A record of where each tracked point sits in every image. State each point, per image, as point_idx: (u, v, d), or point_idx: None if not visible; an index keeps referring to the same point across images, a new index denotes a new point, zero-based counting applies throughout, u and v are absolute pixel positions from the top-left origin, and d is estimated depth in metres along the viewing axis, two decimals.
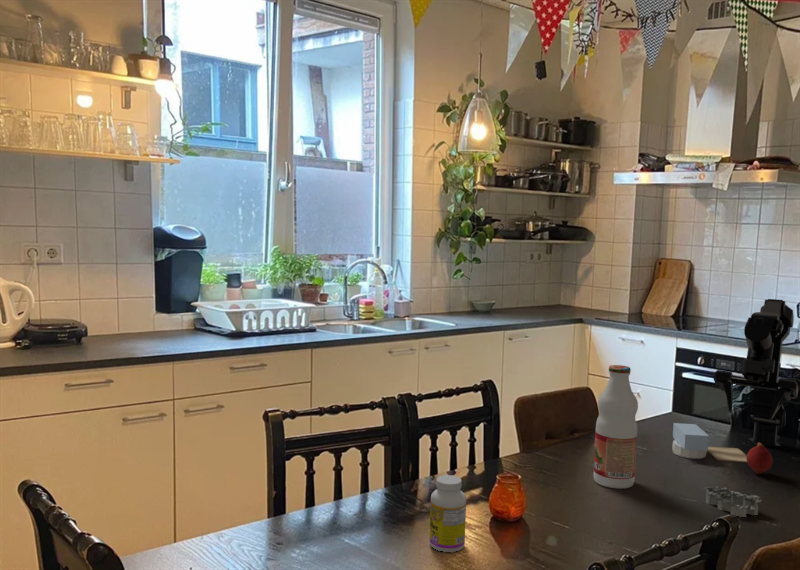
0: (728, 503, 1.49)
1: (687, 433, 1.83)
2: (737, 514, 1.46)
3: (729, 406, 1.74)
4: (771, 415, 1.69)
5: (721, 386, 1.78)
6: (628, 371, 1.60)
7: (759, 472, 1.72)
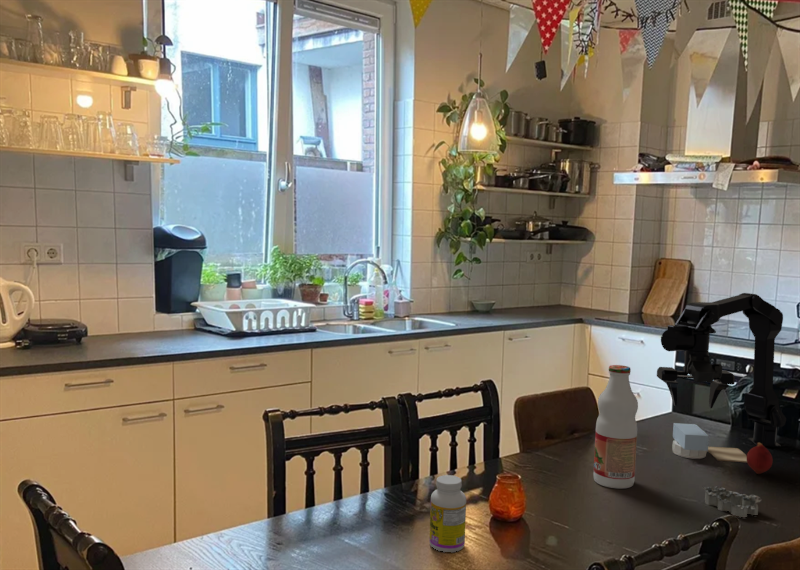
0: (728, 503, 1.48)
1: (687, 433, 1.83)
2: (738, 514, 1.46)
3: (675, 402, 1.85)
4: (711, 406, 1.85)
5: None
6: (628, 371, 1.60)
7: (759, 472, 1.72)
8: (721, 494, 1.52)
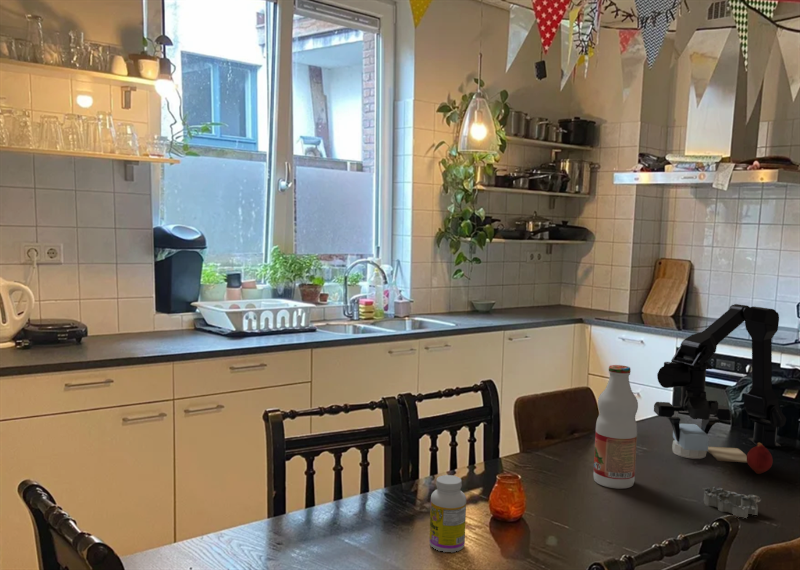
0: (728, 504, 1.48)
1: (687, 433, 1.83)
2: (739, 515, 1.45)
3: (678, 437, 1.86)
4: None
5: None
6: (628, 371, 1.60)
7: (759, 472, 1.72)
8: (720, 495, 1.51)
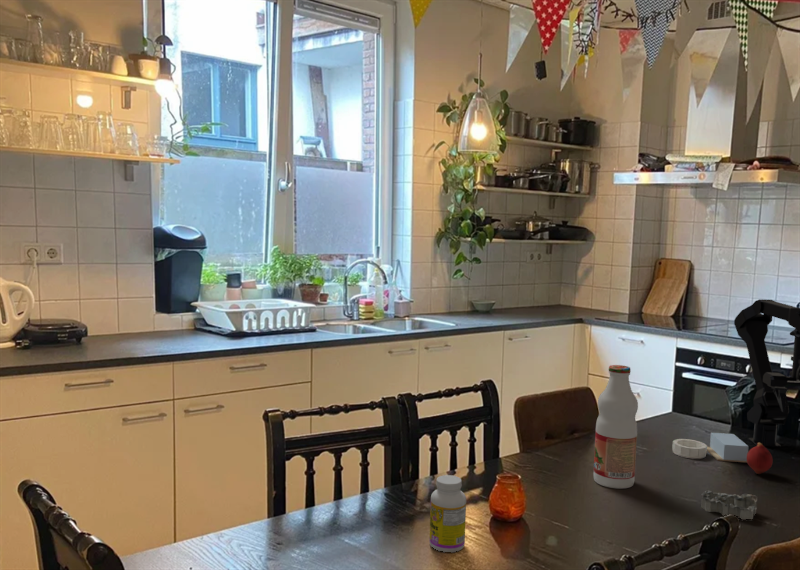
0: (732, 507, 1.46)
1: (726, 443, 1.83)
2: (746, 517, 1.44)
3: (783, 408, 1.83)
4: None
5: None
6: (628, 371, 1.60)
7: (759, 472, 1.72)
8: (719, 498, 1.49)
